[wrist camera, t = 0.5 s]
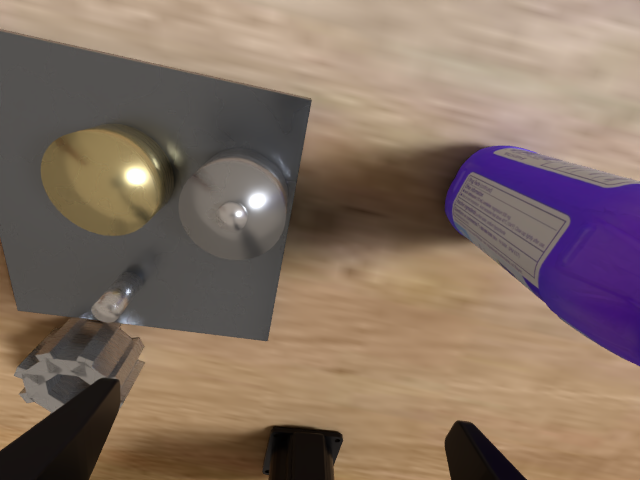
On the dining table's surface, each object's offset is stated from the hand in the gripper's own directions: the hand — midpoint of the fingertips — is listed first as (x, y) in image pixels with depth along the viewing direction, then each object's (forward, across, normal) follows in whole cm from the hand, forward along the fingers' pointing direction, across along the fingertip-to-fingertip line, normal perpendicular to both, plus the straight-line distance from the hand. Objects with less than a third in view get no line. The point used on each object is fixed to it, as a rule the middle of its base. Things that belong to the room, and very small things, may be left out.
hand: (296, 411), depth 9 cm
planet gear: (+13, +12, +13) cm, 23 cm away
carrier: (+13, +9, +1) cm, 16 cm away
